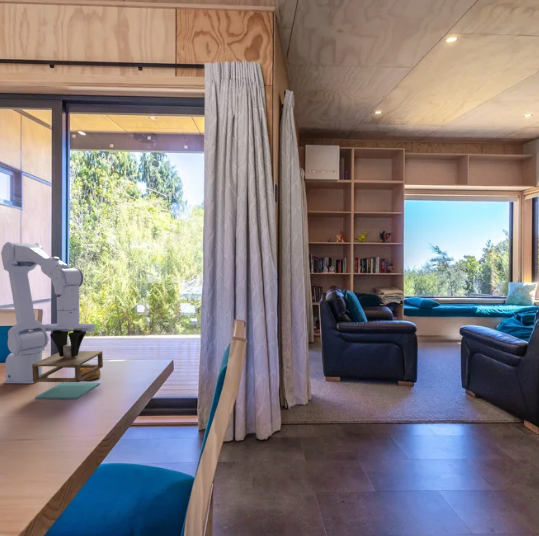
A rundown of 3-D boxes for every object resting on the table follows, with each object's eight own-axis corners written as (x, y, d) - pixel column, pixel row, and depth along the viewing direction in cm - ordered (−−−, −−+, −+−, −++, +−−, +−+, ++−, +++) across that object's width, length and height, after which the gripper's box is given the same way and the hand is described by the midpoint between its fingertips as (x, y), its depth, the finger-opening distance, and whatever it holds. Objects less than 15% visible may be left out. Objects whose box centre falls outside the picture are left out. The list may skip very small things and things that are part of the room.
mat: (35, 398, 100) (35, 396, 100) (61, 383, 112) (61, 382, 112) (77, 398, 99) (77, 397, 99) (99, 384, 111) (99, 382, 111)
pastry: (106, 378, 118) (105, 366, 118) (84, 383, 113) (84, 371, 113) (94, 372, 125) (94, 361, 125) (73, 377, 120) (73, 365, 120)
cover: (33, 381, 100) (31, 351, 99) (62, 366, 113) (61, 339, 112) (78, 382, 99) (77, 352, 99) (102, 366, 112) (101, 340, 112)
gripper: (34, 311, 102) (35, 359, 102) (84, 311, 101) (85, 359, 101) (50, 308, 109) (51, 353, 109) (97, 308, 108) (98, 353, 108)
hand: (68, 356), depth 106 cm, fingers closed on cover, 3 cm apart
